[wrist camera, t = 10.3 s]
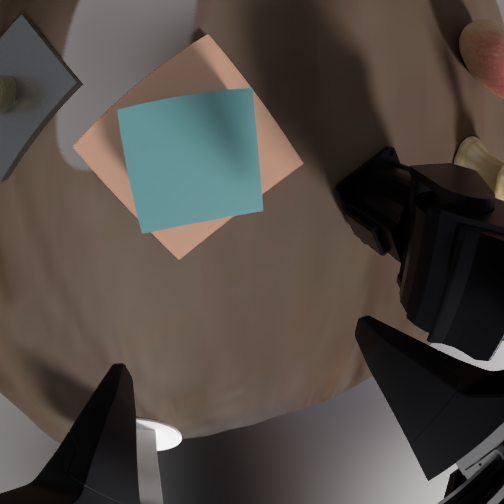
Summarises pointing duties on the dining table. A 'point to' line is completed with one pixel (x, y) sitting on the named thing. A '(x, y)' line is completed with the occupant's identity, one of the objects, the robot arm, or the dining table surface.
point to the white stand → (152, 456)
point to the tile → (173, 85)
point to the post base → (28, 89)
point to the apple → (484, 53)
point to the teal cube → (192, 158)
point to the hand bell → (482, 164)
